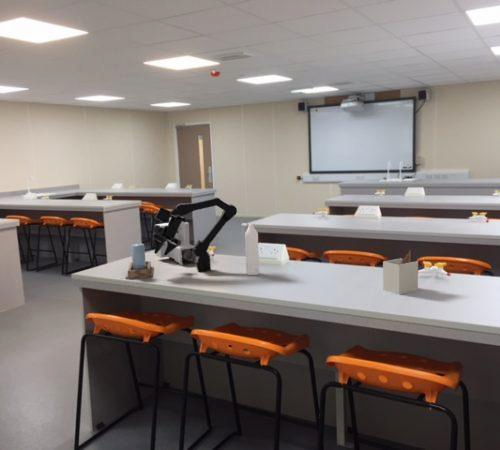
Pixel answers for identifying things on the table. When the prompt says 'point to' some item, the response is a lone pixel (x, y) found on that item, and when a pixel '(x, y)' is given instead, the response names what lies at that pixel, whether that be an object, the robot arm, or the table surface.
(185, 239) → the electronic device
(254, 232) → the water bottle
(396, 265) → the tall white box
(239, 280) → the table surface
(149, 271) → the wooden divided tray
